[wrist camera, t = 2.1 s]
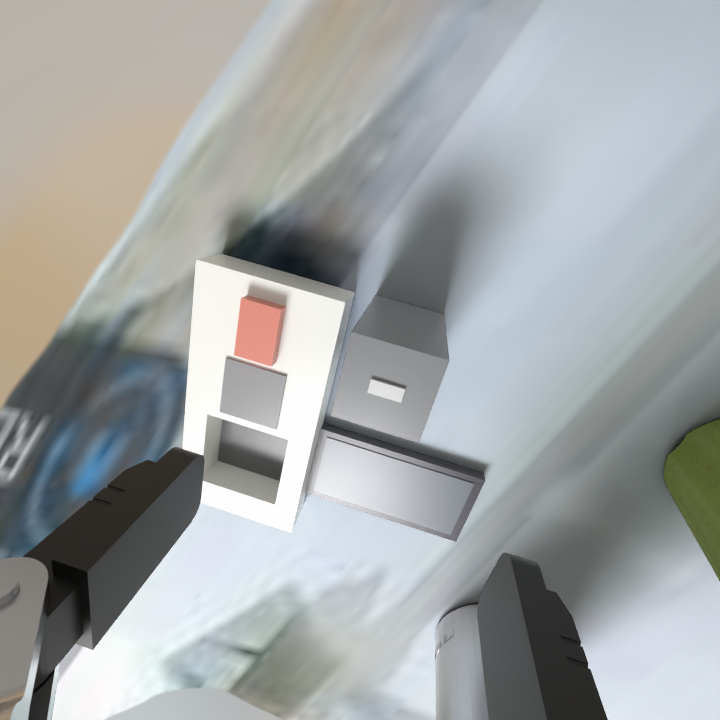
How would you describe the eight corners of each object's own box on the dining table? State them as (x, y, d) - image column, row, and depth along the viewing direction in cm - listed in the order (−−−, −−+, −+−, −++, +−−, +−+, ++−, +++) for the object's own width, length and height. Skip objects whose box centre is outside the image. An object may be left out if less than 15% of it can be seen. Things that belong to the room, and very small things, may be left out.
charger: (443, 314, 24) (449, 361, 16) (422, 375, 26) (418, 444, 18) (375, 294, 24) (350, 332, 17) (359, 357, 26) (329, 417, 18)
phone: (483, 473, 27) (485, 481, 27) (455, 533, 30) (456, 542, 29) (323, 422, 28) (320, 429, 27) (308, 485, 30) (304, 492, 30)
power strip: (355, 292, 24) (342, 305, 21) (303, 504, 31) (287, 541, 28) (222, 253, 25) (187, 261, 21) (200, 470, 32) (172, 502, 28)
